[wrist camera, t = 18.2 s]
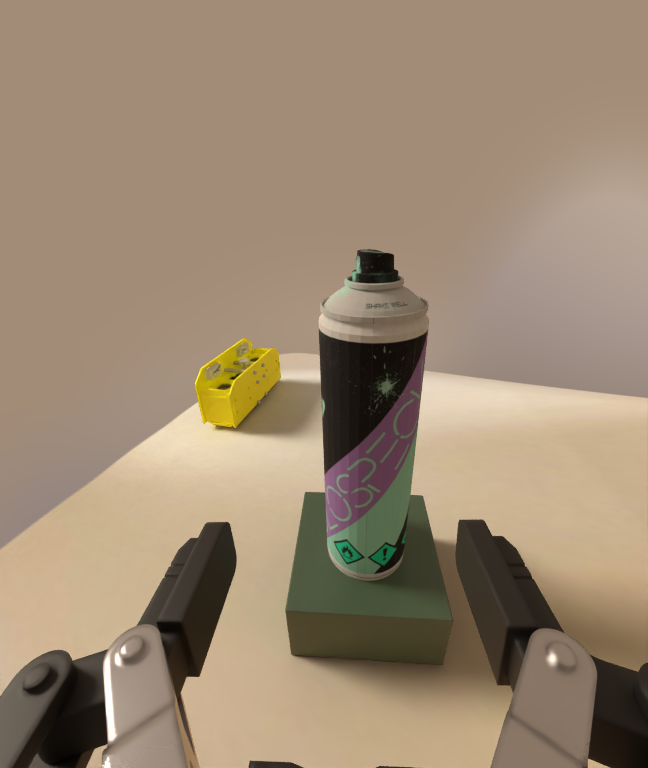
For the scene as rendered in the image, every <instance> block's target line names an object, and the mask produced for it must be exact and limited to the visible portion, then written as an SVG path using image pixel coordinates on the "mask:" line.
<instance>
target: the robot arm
mask: <svg viewBox="0 0 648 768" xmlns="http://www.w3.org/2000/svg"><path fill="white" fill-rule="evenodd" d="M456 564H457V569H458V573H459V576H460V579H461V582H462V585H463V588H464V591H465V593H466V596H467V599H468V602H469V605H470V608H471V611H472V614H473V616H474V619H475V622H476V625H477V628H478V631H479V634H480V637H481V639H482V642H483V645H484V648H485V651H486V654H487V657H488V660H489V662H490V665H491V668H492V671H493V674H494V677H495V680H496V683H497V685H510V686H511V688H512V691H513V697H512V701H511V704H510V707H509V710H508V712H507V714H506V717H505V720H504V724H503V727H502V730H501V734H500V737H499V741H498V744H497V748H496V751H495V754H494V758H493V761H492V765H491V768H588V758H589V759H591V760H593V761H596V762H598V763H601V764H603V765H605V766H608V767H610V768H648V663H645V664H644V665H643V666H642V667H641V668H640V670H639V672H636V671H633V670H630V669H627V668H624V667H621V666H618V665H614V664H611V663H608V662H605V661H602V660H600V659H597V658H595V657H593V656H591V655H590V654H589V653H588V652H587V651H586V650H585V649H584V647H583V646H582V645H581V644H579V643H578V642H577V641H576V640H575V639H573V638H572V637H570V636H569V635H567V634H565V633H564V631H563V630H562V628H561V627H560V625H559V623H558V621H557V620H556V618H555V616H554V614H553V613H552V611H551V609H550V607H549V606H548V604H547V602H546V600H545V599H544V597H543V595H542V593H541V592H540V590H539V588H538V586H537V584H536V583H535V581H534V579H532V576H531V574H530V572H529V570H528V569H527V567H525V563H524V562H523V560H522V558H521V556H520V555H519V553H518V551H517V549H516V548H515V547H514V546H513V545H512V544H510V543H509V542H508V541H507V540H506V539H505V538H504V537H503V536H492V534H491V533H490V531H489V529H488V527H487V525H486V523H485V521H484V520H459V523H458V533H457V544H456ZM235 569H236V550H235V546H234V541H233V536H232V532H231V527H230V524H229V523H228V522H208V523H206V524H205V526H204V527H203V529H202V531H201V533H200V535H199V537H198V538H190V539H189V540H188V541H187V542H186V543H185V544H184V545H183V546H182V547H181V548H180V549H179V550H178V552H177V554H176V556H175V557H174V559H173V561H172V563H171V567H169V568H168V570H167V572H166V574H165V577H164V578H163V579H162V581H161V583H160V585H159V587H158V588H157V590H156V592H155V594H154V596H153V597H152V599H151V601H150V603H149V605H148V607H147V608H146V610H145V612H144V614H143V616H142V617H141V619H140V621H139V623H138V624H137V626H135V627H133V628H131V629H129V630H127V631H126V632H124V633H123V634H122V635H120V636H119V637H118V638H117V639H116V640H115V641H114V642H113V643H112V645H111V646H110V648H109V649H107V650H104V651H102V652H99V653H96V654H92V655H89V656H86V657H83V658H80V659H77V660H74V661H72V659H71V657H70V655H69V654H68V653H67V652H66V651H63V650H54V651H50V652H47V653H45V654H42V655H41V656H39V657H37V658H35V659H34V660H32V661H31V662H30V663H28V664H27V665H26V666H25V667H24V668H23V669H21V670H20V671H19V673H18V674H17V675H16V676H15V677H14V678H13V680H12V681H11V682H10V684H9V685H8V686H7V688H6V689H5V691H4V692H3V693H2V695H1V696H0V768H86V766H87V764H88V762H89V760H90V758H91V755H92V753H93V751H94V749H95V748H98V747H100V746H103V745H106V744H108V745H107V748H106V749H105V750H104V751H103V753H102V768H200V767H199V763H198V759H197V755H196V751H195V747H194V743H193V739H192V735H191V731H190V726H189V722H188V718H187V714H186V710H185V706H184V702H183V698H182V694H181V690H182V688H183V685H184V682H185V679H186V677H199V676H200V673H201V671H202V668H203V665H204V662H205V659H206V656H207V653H208V650H209V647H210V644H211V641H212V638H213V635H214V632H215V629H216V626H217V623H218V620H219V617H220V614H221V612H222V609H223V606H224V603H225V600H226V597H227V594H228V591H229V588H230V585H231V582H232V579H233V576H234V573H235ZM249 768H303V767H301V766H298V765H296V764H294V763H291V762H266V761H250V763H249ZM376 768H412V767H388V766H379V767H376Z"/></svg>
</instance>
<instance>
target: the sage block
mask: <svg viewBox="0 0 648 768" xmlns="http://www.w3.org/2000/svg"><path fill="white" fill-rule="evenodd" d="M285 611H286V618H287V626H288V633H289V640H290V648H291V654H292V655H305V656H319V657H334V658H349V659H363V660H378V661H393V662H407V663H422V664H437V665H443V661H444V656H445V652H446V648H447V644H448V639H449V635H450V631H451V626H452V622H453V618H452V614H451V610H450V606H449V602H448V598H447V594H446V590H445V585H444V581H443V577H442V573H441V569H440V565H439V561H438V556H437V552H436V548H435V544H434V540H433V536H432V532H431V528H430V523H429V519H428V515H427V511H426V507H425V503H424V499H423V496H420V495H410V502H409V511H408V521H407V530H406V539H405V548H404V554H403V558H402V562H401V563H400V565H399V567H398V568H397V569H396V570H395V571H394V572H393V573H392V574H390V575H389V576H388V577H385V578H383V579H380V580H375V581H363V580H357V579H354V578H352V577H349V576H347V575H346V574H344V573H343V572H341V571H340V570H339V569H338V568H337V567H336V566H335V564H334V563H333V562H332V560H331V558H330V555H329V552H328V545H327V524H326V498H325V493H321V492H305V496H304V502H303V508H302V514H301V520H300V526H299V532H298V538H297V544H296V550H295V556H294V562H293V568H292V574H291V580H290V586H289V592H288V598H287V604H286V610H285Z"/></svg>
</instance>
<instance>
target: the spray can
mask: <svg viewBox="0 0 648 768" xmlns="http://www.w3.org/2000/svg"><path fill="white" fill-rule="evenodd" d="M356 268H357V269H356V270H354V271H352V276H350V277H347V278H346V279H345V285H346V286H344V287H343V288H341V289H340V290H338V291H337V292H336V293H334V294H333V295H332V296H330V297H328V298H326V299H324V300H323V301H322V302H321V304H320V311H321V312H322V315H321V316H320V318H319V344H320V370H321V395H322V421H323V447H324V473H325V498H326V524H327V545H328V552H329V555H330V558H331V560H332V562H333V563H334V564H335V566H336V567H337V568H338V569H339V570H340V571H341V572H343V573H344V574H346V575H347V576H349V577H352V578H354V579H357V580H363V581H375V580H380V579H383V578H385V577H388V576H389V575H390V574H392V573H393V572H394V571H395V570H396V569H397V568H398V567H399V565H400V563H401V562H402V558H403V554H404V548H405V539H406V530H407V521H408V511H409V502H410V493H411V484H412V474H413V465H414V456H415V447H416V437H417V428H418V419H419V410H420V400H421V391H422V382H423V373H424V363H425V354H426V345H427V335H428V326H429V319H428V317H427V315H426V313H427V311H428V302H427V301H426V300H425V299H423V298H421V297H418V296H416V295H415V294H414V293H413V292H412V291H410V290H409V289H408V288H406V287H404V286H403V284H404V279H403V278H402V277H400V276H398V271H397V270H395V269H394V255H393V254H389V253H384V252H381V251H377V250H370V249H369V250H358V251H357V258H356Z"/></svg>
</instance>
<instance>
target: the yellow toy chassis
mask: <svg viewBox="0 0 648 768" xmlns="http://www.w3.org/2000/svg"><path fill="white" fill-rule="evenodd" d="M242 343H243V344H242ZM241 344H242V345H241ZM208 367H210V368H208ZM207 368H208V369H207ZM206 369H207V370H206ZM205 372H206V377H207V379H206V377H205ZM280 378H281V374H280V363H279V354H278V350H276V349H274V348H271V349H265V348H256V349H254V350H253V347H252V343H251V342H250V341H249V340H248V339H246V338H244V339H242V340H241V341H239V342H238V343H236V344H235V345H233V346H232V347H231V348H229V349H228V350H226V351H225V352H223V353H222V354H220V355H219V356H218V357H216V358H215V359H213V360H212V361H210V362H209V363H208V364H206V365H205V366H203V367H202V368H201V369H200V372H199V374H198V377H197V379H196V382H195V389H196V393H197V397H198V402H199V406H200V411H201V415H202V420H203V423H204V424H205V423H206V422H207V421H208V422H210V423H211V424H213V425H219V426H226V427H231V426H233V427H234V428H236V427H237V425H238V424H239V423H240V422H241V421H242V420H243V419H244V418H245V417H246V415H247V414H248V413H249V412H250V411H251V410H252V409H253V408H254V407H255V406H256V404H260V403H261V401H260V400H261V399H262V398H263V397H264V396H265V395H266V396H267V395H268V391H269V390H270V389H271V388H272V387H273V386H274V384H275V383H276V382H277V381H278V380H279V379H280Z"/></svg>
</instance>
